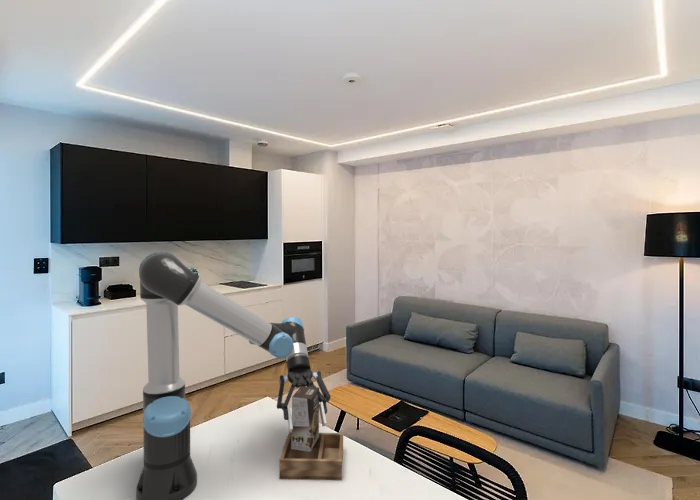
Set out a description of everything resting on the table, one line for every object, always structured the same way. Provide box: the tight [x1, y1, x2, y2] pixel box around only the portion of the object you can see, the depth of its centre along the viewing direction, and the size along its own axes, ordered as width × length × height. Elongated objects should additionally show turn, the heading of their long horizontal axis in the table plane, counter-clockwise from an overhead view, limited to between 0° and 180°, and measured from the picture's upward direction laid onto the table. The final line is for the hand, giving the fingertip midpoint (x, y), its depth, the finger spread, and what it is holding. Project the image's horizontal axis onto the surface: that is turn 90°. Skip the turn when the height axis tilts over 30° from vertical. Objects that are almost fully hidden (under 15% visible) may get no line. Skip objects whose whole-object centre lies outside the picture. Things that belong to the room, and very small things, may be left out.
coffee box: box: [291, 386, 320, 452], centre depth 118 cm, size 9×6×16 cm
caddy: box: [278, 431, 344, 481], centre depth 118 cm, size 18×16×6 cm
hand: (308, 427), depth 115 cm, fingers closed on coffee box, 10 cm apart
